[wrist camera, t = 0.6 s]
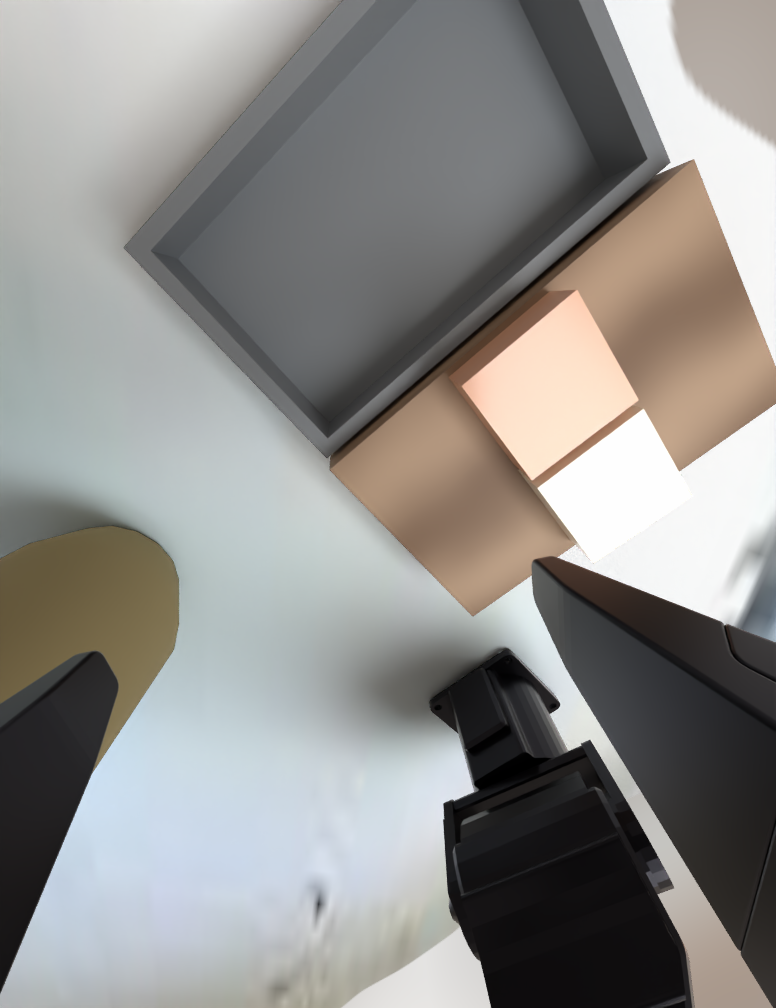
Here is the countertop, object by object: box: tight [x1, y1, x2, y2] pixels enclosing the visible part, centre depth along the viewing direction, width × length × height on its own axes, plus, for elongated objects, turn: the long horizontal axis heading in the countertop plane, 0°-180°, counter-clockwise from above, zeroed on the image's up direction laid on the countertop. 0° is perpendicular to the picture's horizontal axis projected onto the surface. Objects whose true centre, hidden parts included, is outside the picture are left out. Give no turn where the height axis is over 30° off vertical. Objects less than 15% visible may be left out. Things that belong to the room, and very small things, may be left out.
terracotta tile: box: [448, 290, 639, 480], centre depth 16 cm, size 4×4×2 cm
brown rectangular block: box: [330, 159, 776, 616], centre depth 19 cm, size 10×16×4 cm, turn 130°
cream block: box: [518, 405, 692, 564], centre depth 18 cm, size 4×4×2 cm
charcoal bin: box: [124, 0, 670, 458], centre depth 16 cm, size 10×16×3 cm, turn 130°
